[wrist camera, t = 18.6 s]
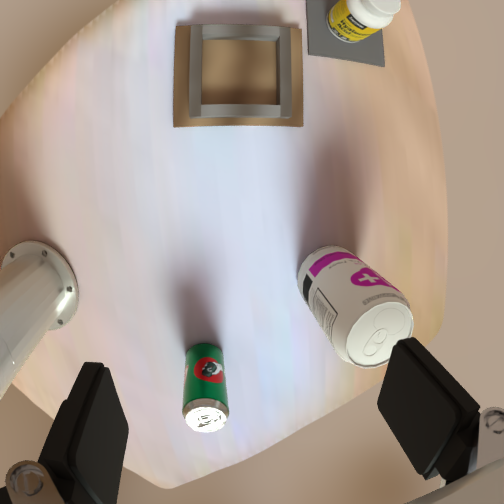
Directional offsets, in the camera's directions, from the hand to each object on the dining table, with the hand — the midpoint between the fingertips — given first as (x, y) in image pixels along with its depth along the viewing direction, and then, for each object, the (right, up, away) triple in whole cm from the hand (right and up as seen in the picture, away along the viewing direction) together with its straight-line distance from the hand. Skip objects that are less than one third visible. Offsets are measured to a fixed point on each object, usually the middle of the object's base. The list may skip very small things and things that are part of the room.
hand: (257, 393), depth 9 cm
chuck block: (-2, +24, +22) cm, 33 cm away
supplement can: (+9, +2, +31) cm, 32 cm away
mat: (+11, +32, +21) cm, 40 cm away
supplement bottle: (+11, +32, +21) cm, 40 cm away
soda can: (-7, -10, +32) cm, 34 cm away
